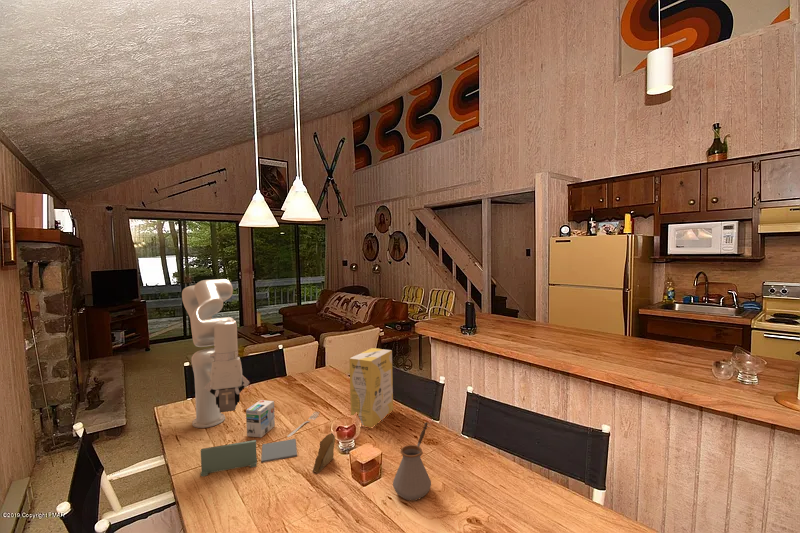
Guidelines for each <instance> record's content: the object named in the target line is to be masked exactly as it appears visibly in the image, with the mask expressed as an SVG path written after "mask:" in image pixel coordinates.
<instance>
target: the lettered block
mask: <svg viewBox="0 0 800 533" xmlns="http://www.w3.org/2000/svg"><path fill="white" fill-rule="evenodd" d="M235 392H236V391H235V388H228V389H219V408H220V412H221V413H227V412H234V411H236V408H237V405H235Z"/></svg>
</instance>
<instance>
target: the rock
mask: <svg viewBox="0 0 800 533" xmlns="http://www.w3.org/2000/svg"><path fill="white" fill-rule="evenodd" d="M335 443H336V436H335V434H334V433H332V432H331V433H329V434H326V436H325V437H323V438H322V440H320V441H319V448H318V452H317V455H316V458H315V461H314V462H315V463H314V465H313V468H312V472H315V473H320V472H321V471H322V470H323V469H324V468H325V467H326V466H327V465H328V464H329V463H330V462H331V461H332V460H333V459H334V453H335V452H334V448H335Z"/></svg>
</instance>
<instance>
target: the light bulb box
mask: <svg viewBox="0 0 800 533" xmlns="http://www.w3.org/2000/svg"><path fill="white" fill-rule="evenodd" d="M245 416H246V418H245V419H246V420H245V422H246V437H253V438H262V437H264V436H265V435H266V434H267V433H268V432H270V430H272V429H273V428H274V427H275V426H276V425H275V423H276V422H275V419H276V418H275V401H274V400H264V399H260V400H258V401H257V402H255V403H254V404H252V405H251V406H250V407H248V408H247V409H246V410H245Z"/></svg>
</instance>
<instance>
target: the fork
mask: <svg viewBox="0 0 800 533" xmlns="http://www.w3.org/2000/svg"><path fill="white" fill-rule="evenodd" d="M319 414H320V411H313V413H312V414H311V415H310V417H309V418H308V420H306V421H304V422H303V423H300V425H299V426H298V427H297V428H296V429H294V430H293V431H291V432H290V433H289V434H288V435H287V438H289V437H292V436H293V435H294V434H295V433H297V431H299V430H300V428H302V426H304V425H305V424H306V423H311V421H309V420H311V419H312V421H315V420H316V418H317V417H318V416H319Z"/></svg>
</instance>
